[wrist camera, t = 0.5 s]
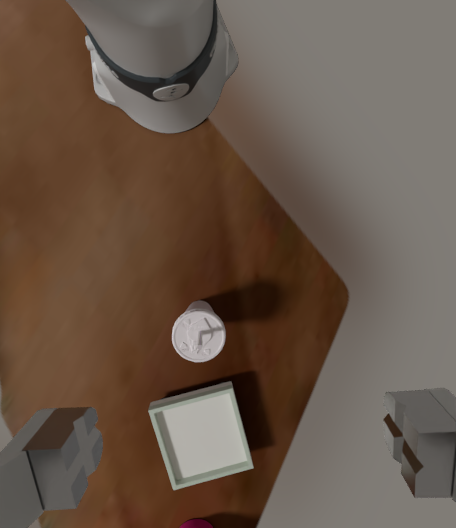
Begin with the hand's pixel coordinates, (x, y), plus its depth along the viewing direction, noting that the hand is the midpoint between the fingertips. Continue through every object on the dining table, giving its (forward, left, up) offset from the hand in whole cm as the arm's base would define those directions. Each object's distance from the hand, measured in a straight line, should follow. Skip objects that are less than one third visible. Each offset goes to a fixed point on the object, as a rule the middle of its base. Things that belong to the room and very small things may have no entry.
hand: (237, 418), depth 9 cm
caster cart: (+25, -8, -38) cm, 46 cm away
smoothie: (+8, -4, -39) cm, 39 cm away
